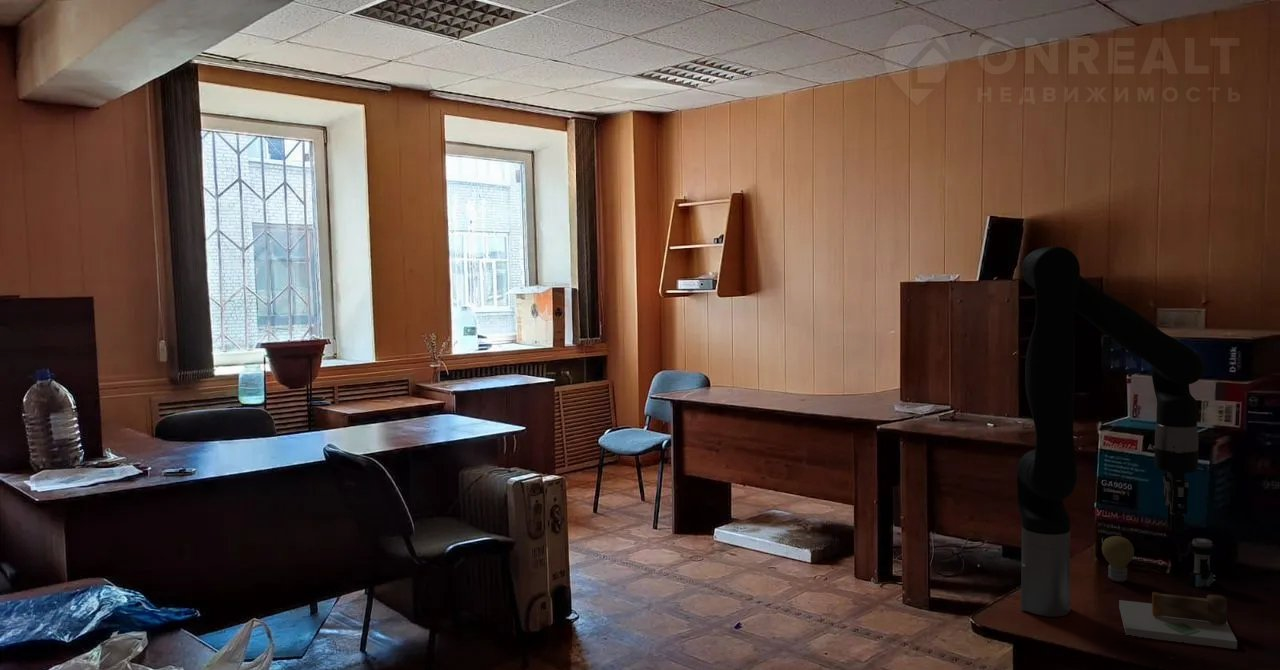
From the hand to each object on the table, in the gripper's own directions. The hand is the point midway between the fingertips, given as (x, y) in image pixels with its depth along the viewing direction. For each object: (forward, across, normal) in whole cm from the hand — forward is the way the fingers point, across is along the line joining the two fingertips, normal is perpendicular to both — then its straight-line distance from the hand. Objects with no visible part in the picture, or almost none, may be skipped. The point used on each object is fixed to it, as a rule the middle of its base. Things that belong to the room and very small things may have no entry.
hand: (1175, 528), depth 178 cm
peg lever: (+15, +8, +1) cm, 17 cm away
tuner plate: (+17, +8, -1) cm, 19 cm away
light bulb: (+18, -16, -9) cm, 25 cm away
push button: (+18, -19, +8) cm, 27 cm away
